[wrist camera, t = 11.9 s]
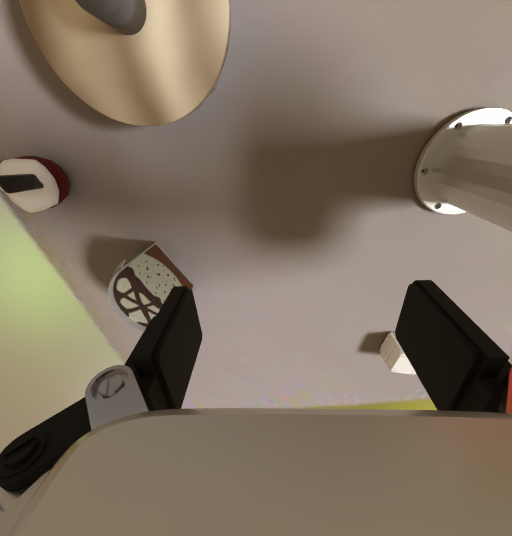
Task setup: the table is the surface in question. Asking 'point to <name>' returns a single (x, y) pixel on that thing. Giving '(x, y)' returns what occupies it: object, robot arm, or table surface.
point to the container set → (395, 356)
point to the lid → (134, 53)
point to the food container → (144, 286)
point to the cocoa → (33, 183)
